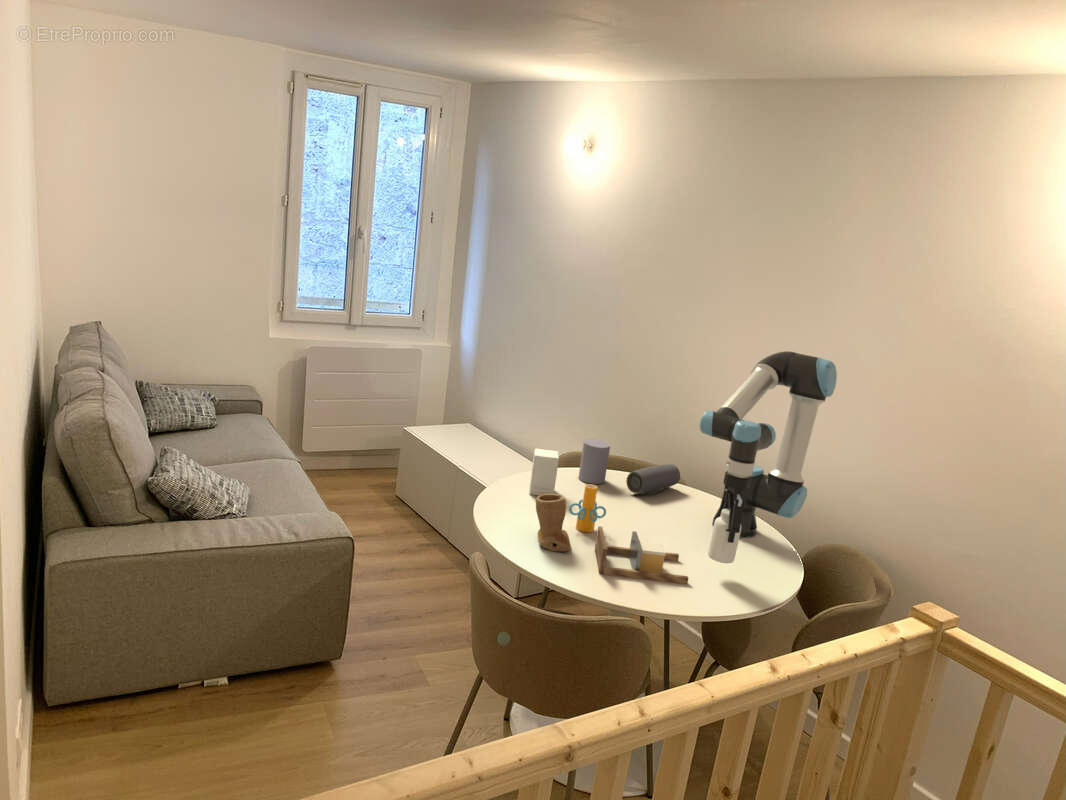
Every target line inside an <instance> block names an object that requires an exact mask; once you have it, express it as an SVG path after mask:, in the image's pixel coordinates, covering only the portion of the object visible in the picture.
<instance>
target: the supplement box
mask: <svg viewBox="0 0 1066 800" xmlns="http://www.w3.org/2000/svg"><path fill="white" fill-rule="evenodd" d="M559 460H560V457H559V451H557V450H552V449H551V450H549V449H543V448H535V449H534V451H533V460H532V466H531V467H532V468H531V474H530V475H531V476H530V482H529V492H528V493H529V495H532V496H540V495H543V494H555V488H556V487H555V486H556V481H557V476H558V475H557V474H558V469H559Z"/></svg>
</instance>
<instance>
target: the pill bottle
mask: <svg viewBox="0 0 1066 800" xmlns="http://www.w3.org/2000/svg"><path fill="white" fill-rule="evenodd" d="M729 512H730V509H723V510H722V511H721V517H718V518H717V519H716V520H715V522H714V527H713V526H712V527H713V528H712V533H711V536H710V541H709V546H708V551H707V556H708V557H709V558H710V559H711V560H713V561H715V562H716V563H720V564H731V563H733V562H734V561H735V559H736V555H737V554H736V553H737V550H738V545H739V541H740V538H741V537H740V532H741V525H740V532H739V533H736V536H735V541H734V546H733V551H732V552H724V551H723V545H724V540H725V536H726V529H728V524H729Z"/></svg>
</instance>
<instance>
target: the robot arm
mask: <svg viewBox="0 0 1066 800" xmlns="http://www.w3.org/2000/svg"><path fill="white" fill-rule="evenodd" d="M837 377H838V375H837V367H836V365H835V363H834V362H833V361H831V360H828V359H826V358H822V357H818V356H812V355H807V354H802V353H798V352H795V351H791V350H790V351H779V352H776V353H772V354H770V355H768V356H765V357H764V358H763V359H761V360H760V361H758V362H757V363H756V364H755V365H754V366H753V367H752V369H751V370H750V375H749V376H748V377H747V378H746V379H745V380H744V381H743V383H742V384H741V385H740V386H739V387H738V388H737V389H736V390H735V391H734V392H733V393H732V395H730V397H729V398H728V399H726V401H725V402H724V403H723V404H722V406H720V407H719V409H718V410H716V411H715V410H705V411H704V412H703V413H702V415H701V417H700V420H699V430H700V432H701V433H703V434H705V435H708V436H710V437H712V438H717V439H720V440H724V441H727V442H730V447H729V454H728V458H727V460H726V461H725V464H726V469H725V470H726V471H725V472H724V477H723V484H724V488H723V489H724V490H723V493H722V498H721V502H720V506H719V508H718V510H716V512H715V515H714V516H713V518H712V524H711V525H712V527H714V522H715V520H716V519H717V518H718V517H721V511H722V510H723V509H730V512H729V524H728V529H726V536H725V540H724V545H723V551H724V552H732V551H733V546H734V541H735V536H736V533H739V532H740V525H741V532H740V537H739V538H751V537H754V536H755V535H756V534H757V529H758V524H757V517H756V511H757V510H756V508H757V509H760V510H763V511H766V512H768V513H771V514H775V515H777V517H783V518H786V519H792V518H795V517H796V516H797V515H798V514H799V512H800V511H801V509H802V508H803V507H804V504H805V501H806V499H807V496H808V488H807V487H806V486H804V482H805V479H804V478H803V476H802V472H803V467H804V463H805V459H806V455H807V452H808V448H809V444H810V441H811V437H812V432H813V428H814V425H815V422H816V417H817V413H818V410H819V406H820V405H821V404H823V403H825V402H826V399H827V398H828V397H829V398H830V397H831V396H833V394H834V391H835V389H836V387H837V386H836V384H837ZM777 386H783V387H787V388H789V392H788V394H789V396H790V397H791V403H790V405H789V406H790V407H789V411H788V415H787V419H786V423H785V426H784V430H783V434H782V438H781V442H780V446H779V450H778V453H777V457H776V461H775V465H774V468H772V469H771V470H769V471H768V473H767V474H764V473H765V472H764V468H763V467H761V466H758V465H755V464H756V457H757V452H759V451H762V450H765V449H768V448H769V447H770V446H772V445H773V444H774V443H775V441H776V438H777V434H776V430H775V428H774V427H773V426H772V425H770V424H769V423H766V422H759V423H757V422H755V421H751V420H745V419H744V418H745V417H746V416H747V415H748V414H749V413H750V411H752V409H753V408H754V407H755V405H756V404H757V403H758V402H759V401H760V400H761V399H762V398H763V396H764V395H765V394H766V393H767V392H768V391H769V390H773V389H775V388H776V387H777Z"/></svg>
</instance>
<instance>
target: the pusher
mask: <svg viewBox="0 0 1066 800" xmlns="http://www.w3.org/2000/svg"><path fill="white" fill-rule="evenodd" d="M639 540H640V539H639V536H638V532H637V531H632V532H631V538H630V545H629V548H630V549H629V556H628V558H629V561H630V565H631V570H639V567H640V562H641V556H642V547H641V544H640V541H639Z"/></svg>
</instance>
